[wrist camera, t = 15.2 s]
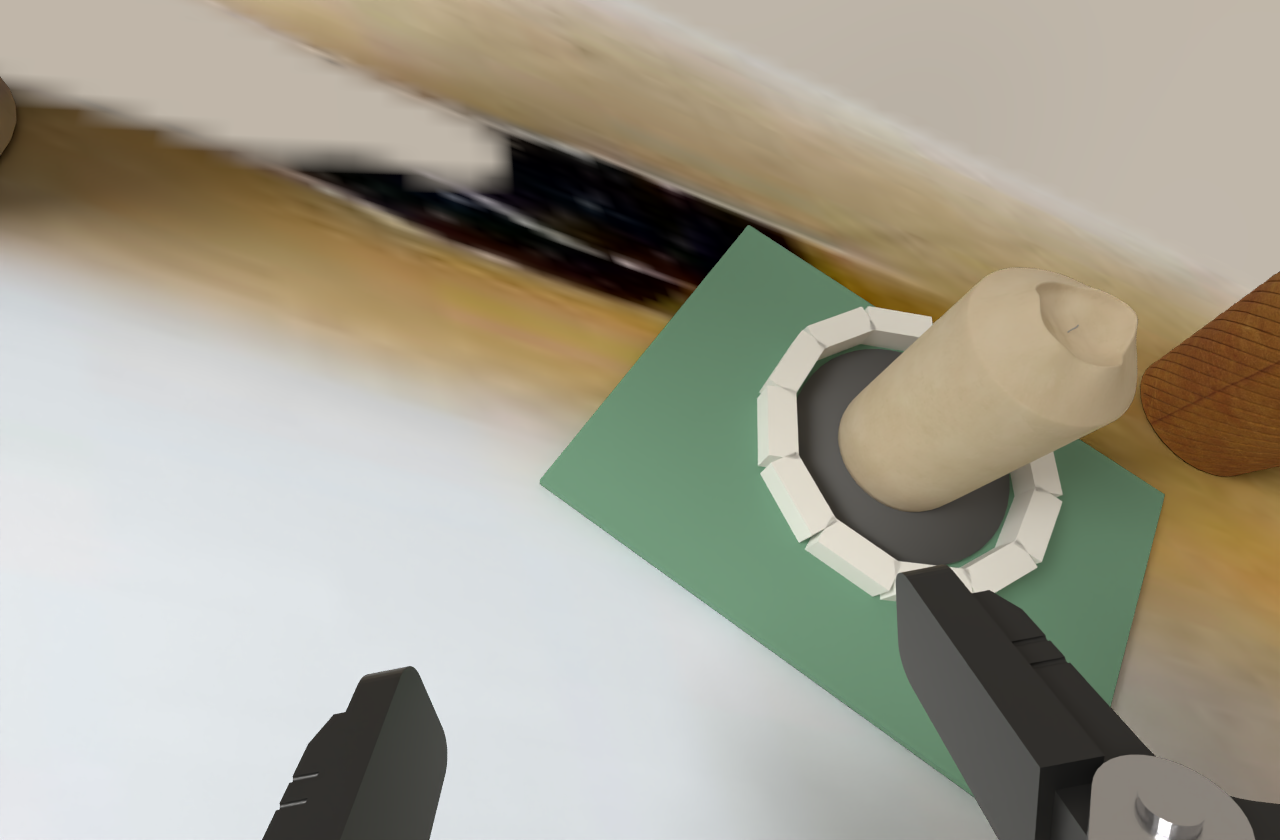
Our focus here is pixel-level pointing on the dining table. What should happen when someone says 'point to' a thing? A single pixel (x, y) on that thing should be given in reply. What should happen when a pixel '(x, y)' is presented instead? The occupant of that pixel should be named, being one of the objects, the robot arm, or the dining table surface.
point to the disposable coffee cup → (1223, 389)
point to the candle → (991, 389)
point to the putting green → (837, 494)
